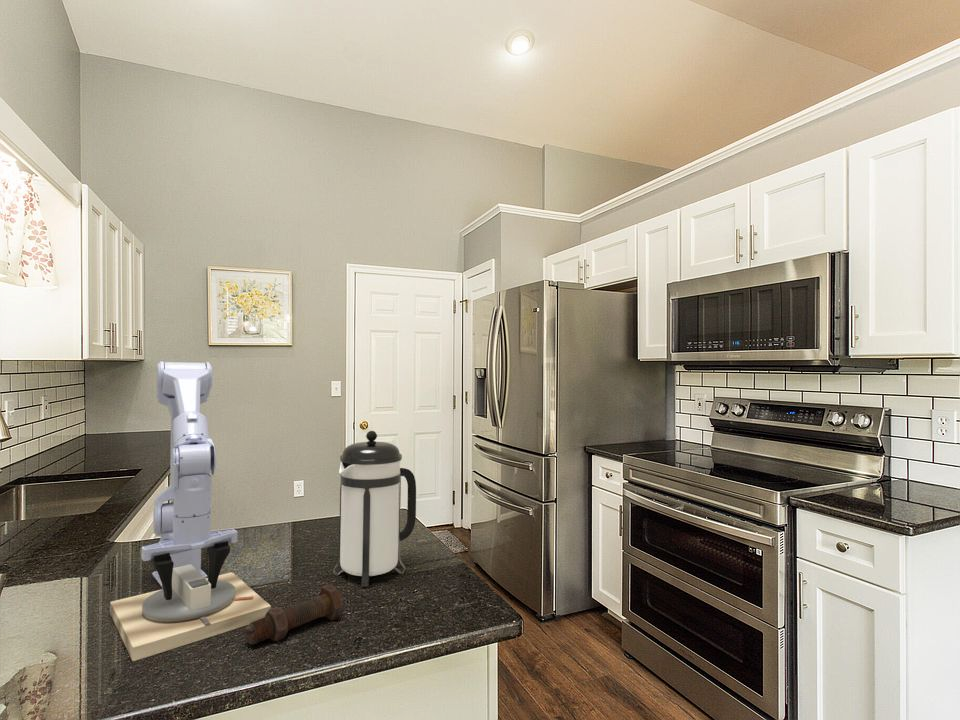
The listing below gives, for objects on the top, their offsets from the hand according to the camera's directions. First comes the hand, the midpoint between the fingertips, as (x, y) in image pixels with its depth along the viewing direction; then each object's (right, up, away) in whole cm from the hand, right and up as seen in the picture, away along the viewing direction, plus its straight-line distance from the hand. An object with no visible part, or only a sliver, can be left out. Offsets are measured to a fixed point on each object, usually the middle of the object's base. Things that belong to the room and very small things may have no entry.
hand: (190, 592), depth 89 cm
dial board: (0, -4, 0) cm, 4 cm away
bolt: (+19, -5, -4) cm, 20 cm away
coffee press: (+27, -5, +20) cm, 34 cm away
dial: (0, -2, 0) cm, 2 cm away
